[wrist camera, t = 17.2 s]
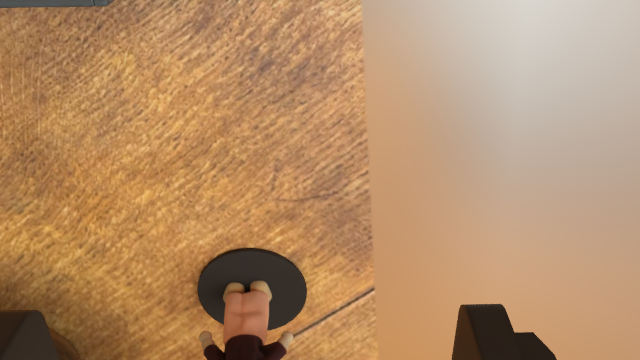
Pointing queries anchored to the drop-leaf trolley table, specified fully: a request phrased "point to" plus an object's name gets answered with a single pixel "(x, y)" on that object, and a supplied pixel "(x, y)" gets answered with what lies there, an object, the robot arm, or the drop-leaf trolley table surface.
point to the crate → (53, 3)
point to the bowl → (64, 347)
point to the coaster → (250, 268)
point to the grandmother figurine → (246, 326)
